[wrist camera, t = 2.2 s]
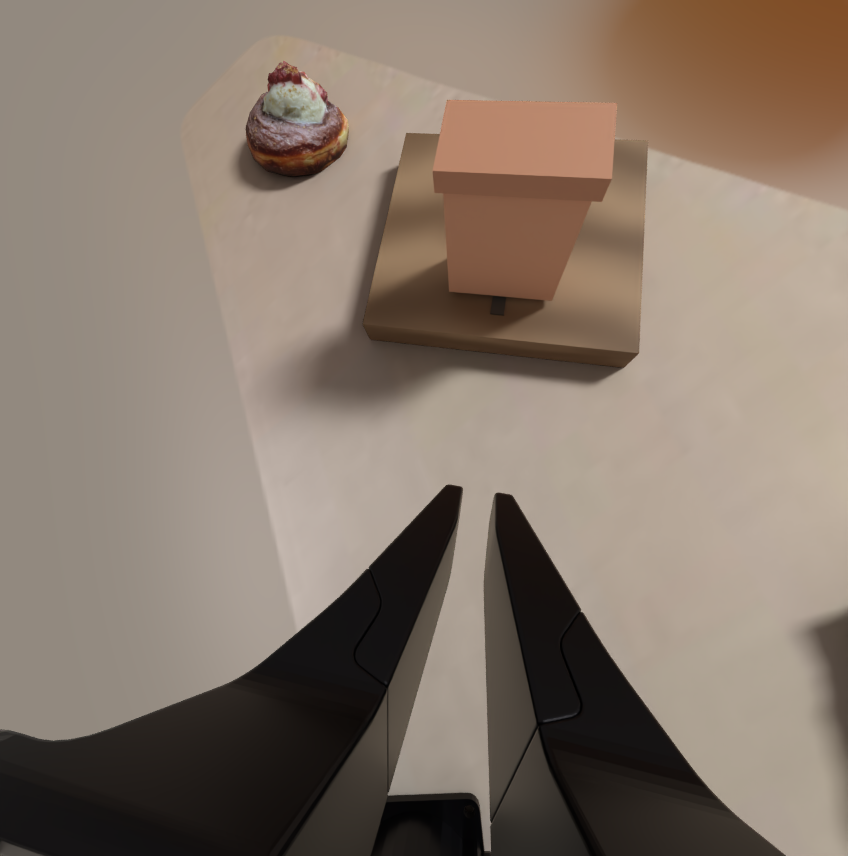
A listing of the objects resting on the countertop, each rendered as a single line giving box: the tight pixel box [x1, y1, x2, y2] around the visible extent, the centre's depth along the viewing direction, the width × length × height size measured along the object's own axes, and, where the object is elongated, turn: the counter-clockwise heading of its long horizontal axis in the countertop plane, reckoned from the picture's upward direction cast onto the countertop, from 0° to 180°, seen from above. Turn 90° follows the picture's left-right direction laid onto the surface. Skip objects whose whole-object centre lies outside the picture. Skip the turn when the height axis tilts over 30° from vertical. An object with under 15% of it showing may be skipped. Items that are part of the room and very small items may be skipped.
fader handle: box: [433, 100, 617, 301], centre depth 18 cm, size 4×7×8 cm, turn 80°
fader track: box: [363, 133, 648, 368], centre depth 24 cm, size 15×16×2 cm
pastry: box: [246, 61, 349, 176], centre depth 27 cm, size 8×8×5 cm
